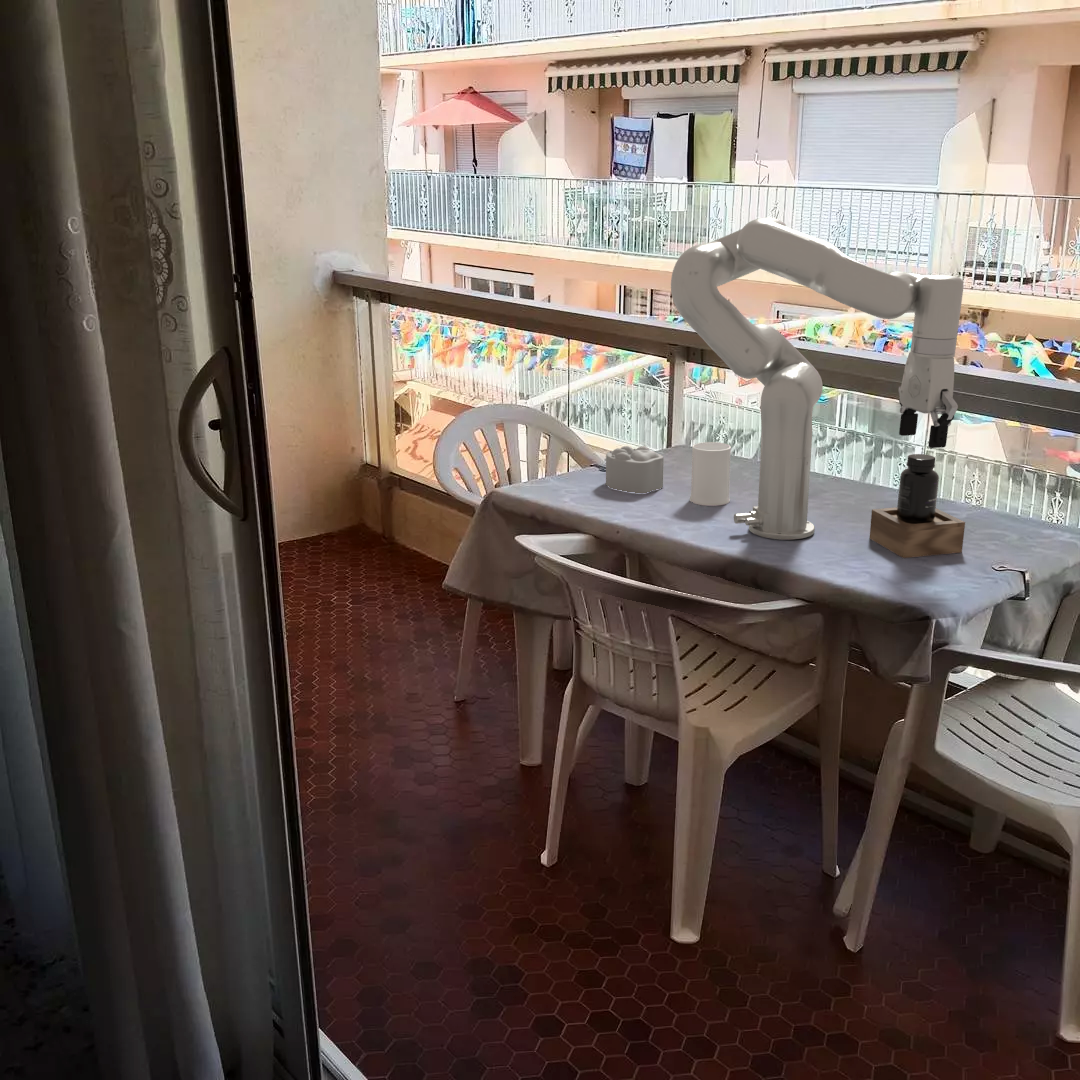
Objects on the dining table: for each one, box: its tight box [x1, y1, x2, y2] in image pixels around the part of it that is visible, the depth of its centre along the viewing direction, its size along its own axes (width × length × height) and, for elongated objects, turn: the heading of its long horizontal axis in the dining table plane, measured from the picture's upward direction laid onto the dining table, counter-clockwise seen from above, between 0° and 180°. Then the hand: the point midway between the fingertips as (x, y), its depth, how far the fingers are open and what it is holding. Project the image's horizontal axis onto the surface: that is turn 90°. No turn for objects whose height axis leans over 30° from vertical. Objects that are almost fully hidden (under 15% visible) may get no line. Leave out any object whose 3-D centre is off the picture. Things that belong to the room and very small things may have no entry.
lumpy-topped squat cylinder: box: [605, 445, 665, 493], centre depth 250 cm, size 10×13×9 cm
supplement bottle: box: [896, 453, 940, 524], centre depth 205 cm, size 7×7×12 cm
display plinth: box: [868, 506, 966, 559], centre depth 207 cm, size 12×12×6 cm
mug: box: [689, 441, 732, 507], centre depth 238 cm, size 12×8×12 cm
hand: (921, 441), depth 202 cm, fingers open, 9 cm apart
